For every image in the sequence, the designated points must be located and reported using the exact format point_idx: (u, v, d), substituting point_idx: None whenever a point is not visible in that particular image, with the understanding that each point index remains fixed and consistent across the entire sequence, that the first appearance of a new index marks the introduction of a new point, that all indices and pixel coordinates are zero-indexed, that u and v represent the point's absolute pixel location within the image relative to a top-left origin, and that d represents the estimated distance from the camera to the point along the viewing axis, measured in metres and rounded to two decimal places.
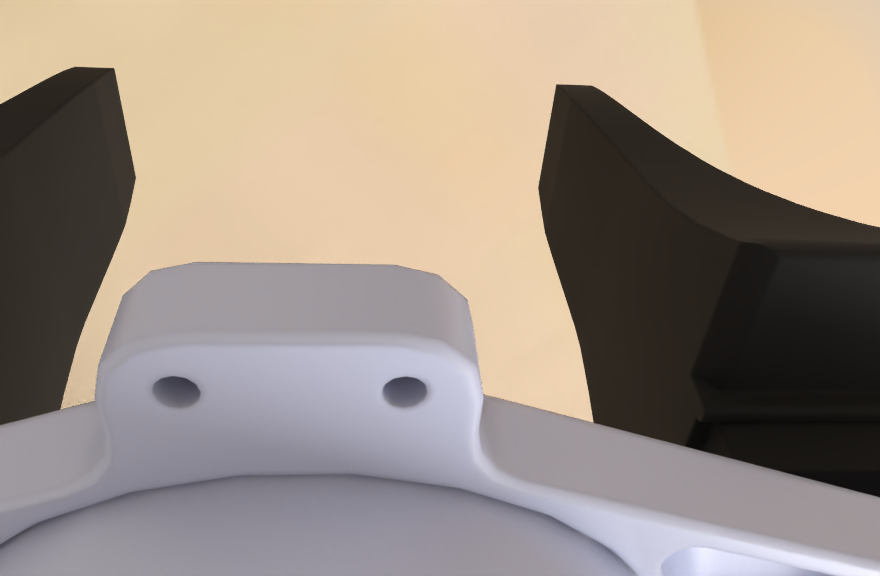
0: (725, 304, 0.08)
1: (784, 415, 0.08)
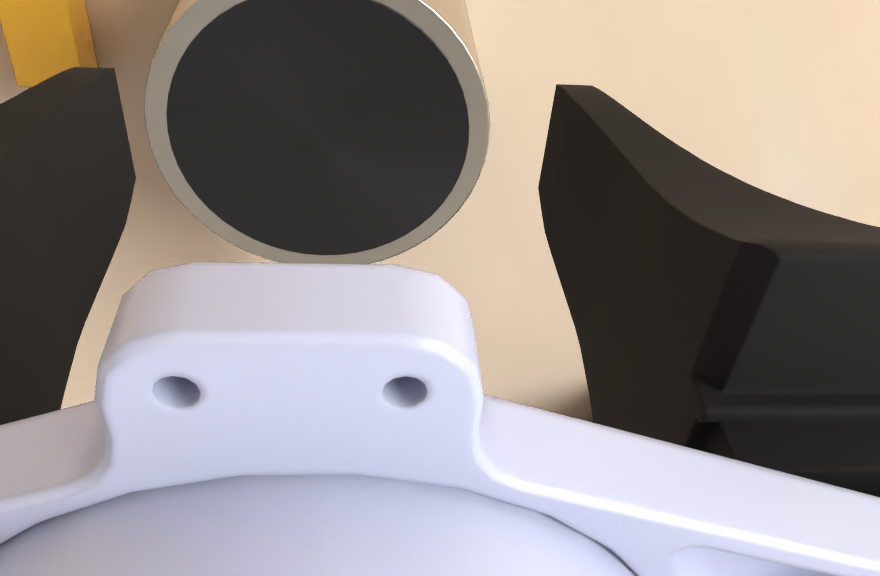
0: (725, 304, 0.08)
1: (785, 415, 0.08)
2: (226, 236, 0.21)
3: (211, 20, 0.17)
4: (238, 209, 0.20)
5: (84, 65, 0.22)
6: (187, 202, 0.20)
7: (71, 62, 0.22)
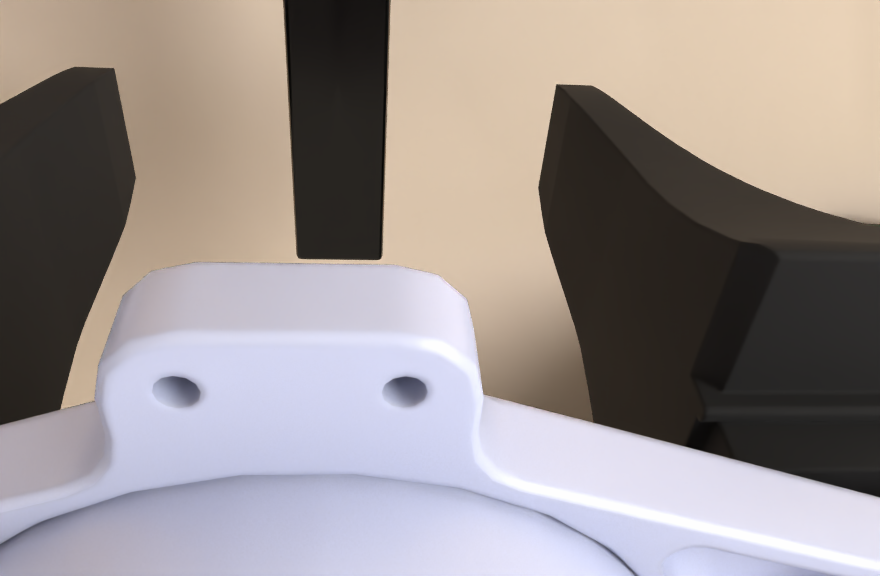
0: (725, 305, 0.08)
1: (784, 415, 0.08)
2: None
3: None
4: None
5: None
6: None
7: None
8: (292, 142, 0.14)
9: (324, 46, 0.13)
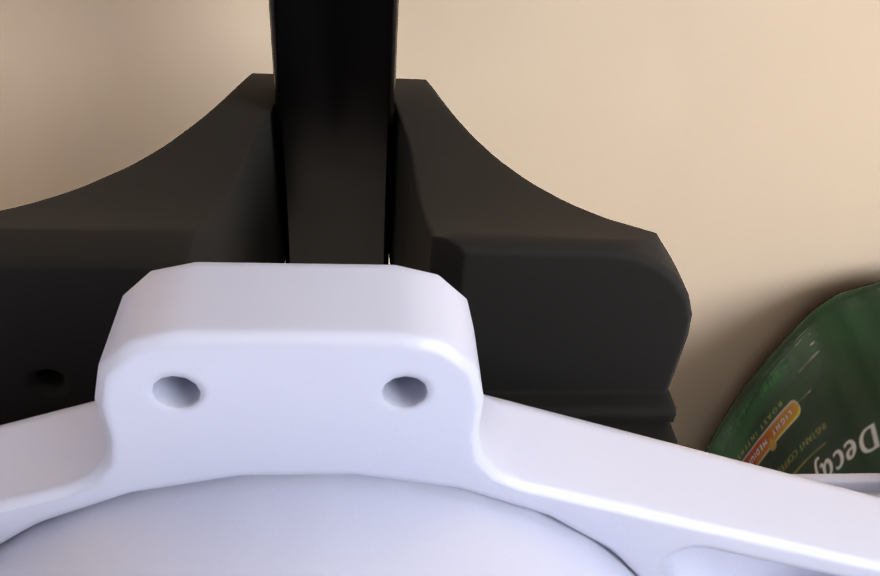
0: None
1: None
2: None
3: None
4: None
5: None
6: None
7: None
8: (284, 215, 0.12)
9: (320, 112, 0.11)
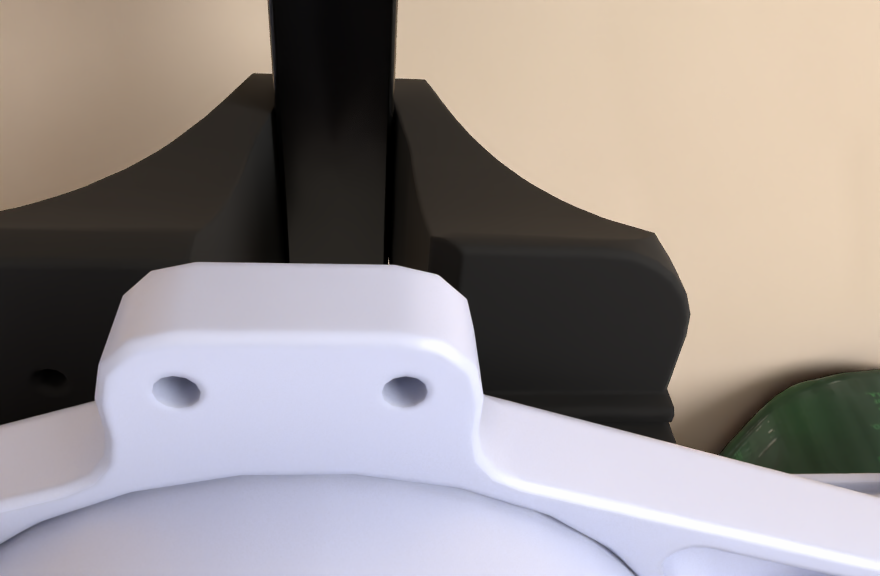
0: None
1: None
2: None
3: None
4: None
5: None
6: None
7: None
8: (284, 221, 0.12)
9: (319, 119, 0.11)
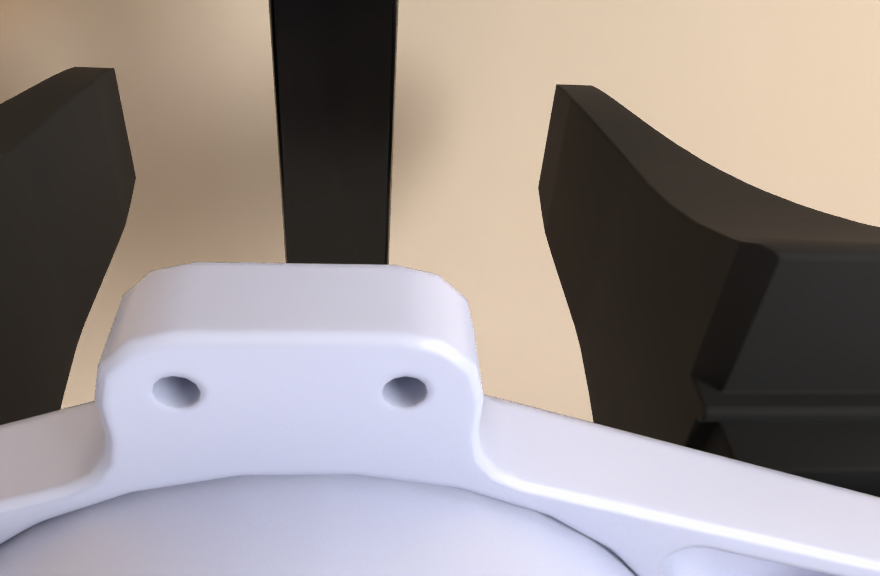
0: (725, 304, 0.08)
1: (784, 415, 0.08)
2: None
3: None
4: None
5: None
6: None
7: None
8: (285, 225, 0.12)
9: (320, 124, 0.11)
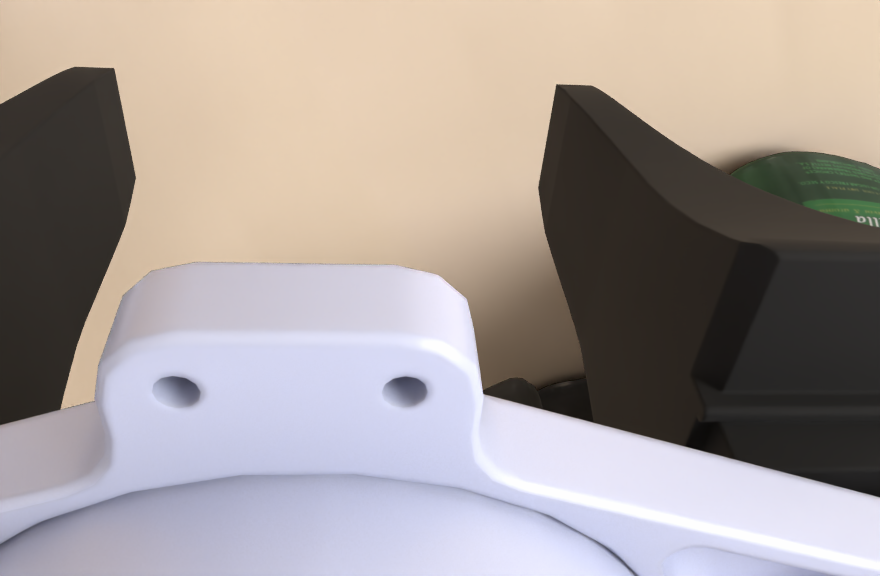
0: (725, 304, 0.08)
1: (784, 414, 0.08)
2: None
3: None
4: None
5: None
6: None
7: None
8: None
9: None
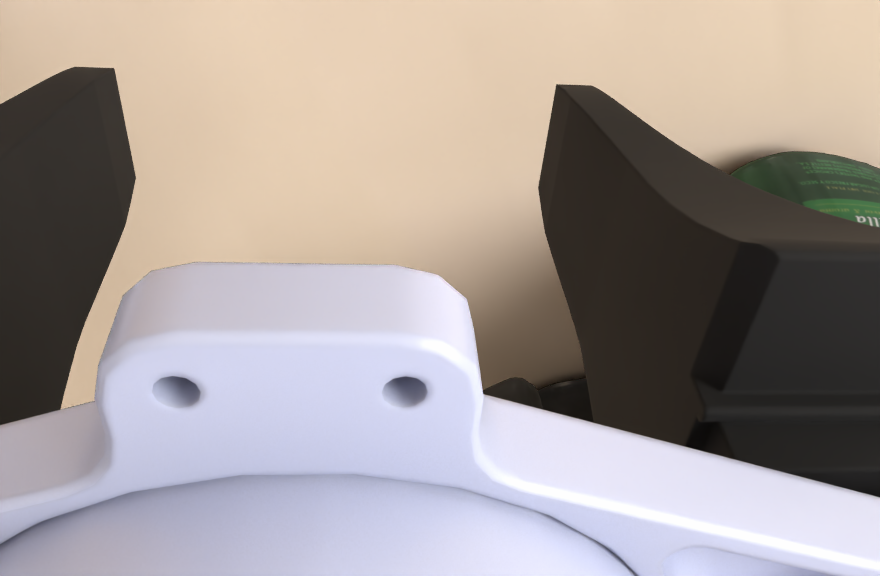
0: (725, 304, 0.08)
1: (784, 415, 0.08)
2: None
3: None
4: None
5: None
6: None
7: None
8: None
9: None
